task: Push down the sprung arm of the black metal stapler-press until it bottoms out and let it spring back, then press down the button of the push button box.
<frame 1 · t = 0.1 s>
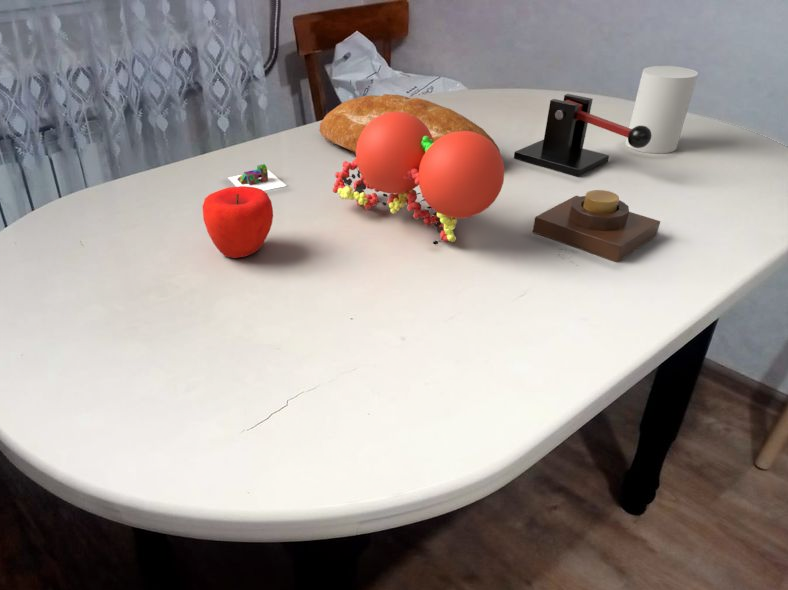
bell button: (600, 202, 84), point 4 cm above the table, slide at 0.1 cm
molecule: (408, 226, 90), on the table
cup: (650, 146, 113), on the table
apple: (242, 253, 85), on the table
white tray with figurine: (256, 182, 105), on the table
push button box: (593, 234, 87), on the table
bread: (403, 151, 115), on the table
stapler: (560, 160, 109), on the table
stapler arm: (603, 123, 101), point 7 cm above the table, hinge at -7.0°
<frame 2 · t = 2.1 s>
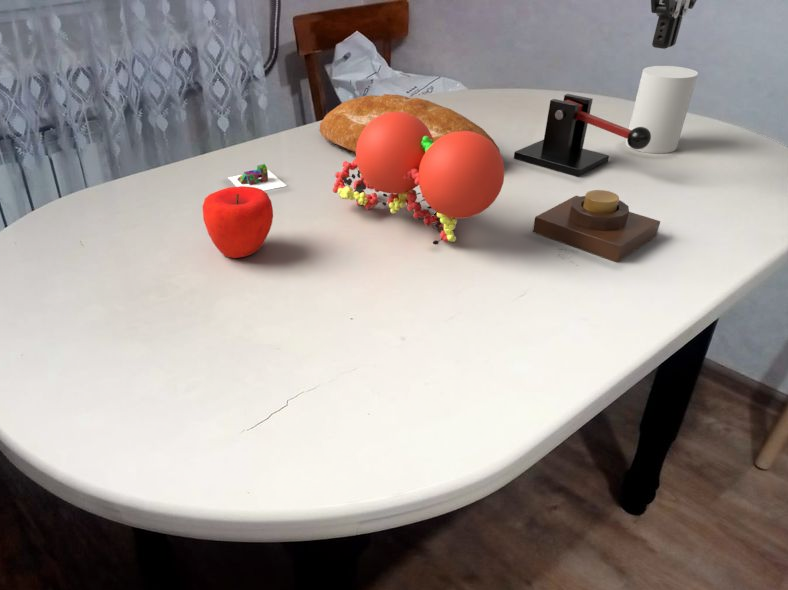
hand: (663, 46, 90), 19 cm above the table, tool pointing down, fingers closed
stapler arm: (603, 124, 101), point 7 cm above the table, hinge at -7.9°
everything else where it was.
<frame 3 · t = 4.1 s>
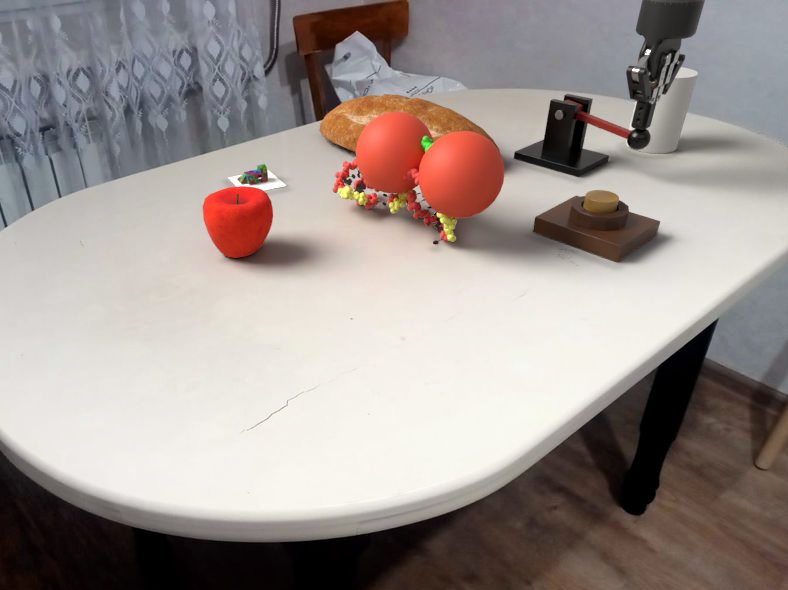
hand: (640, 127, 97), 8 cm above the table, tool pointing down, fingers closed
stapler arm: (603, 124, 101), point 7 cm above the table, hinge at -8.3°, touching gripper
everything else where it was.
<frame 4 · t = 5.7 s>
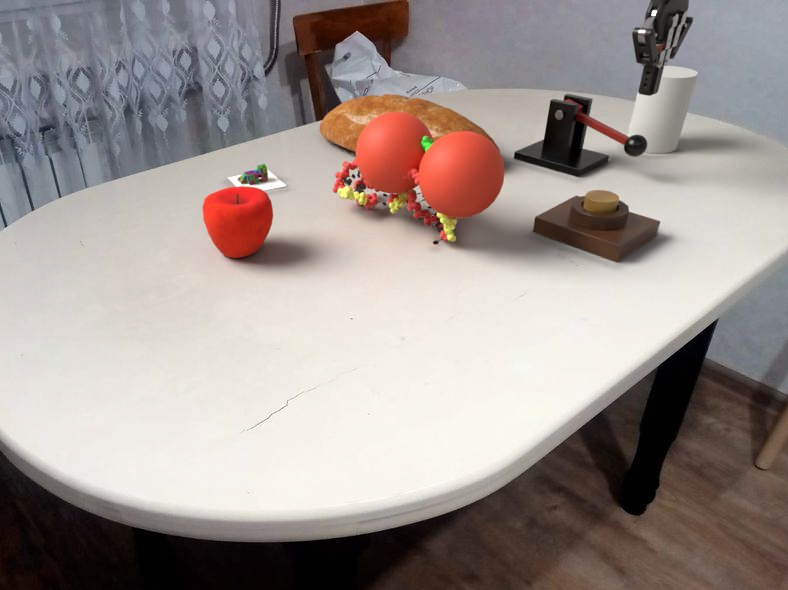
hand: (647, 93, 94), 13 cm above the table, tool pointing down, fingers closed
stapler arm: (602, 128, 101), point 7 cm above the table, hinge at -13.7°
everything else where it was.
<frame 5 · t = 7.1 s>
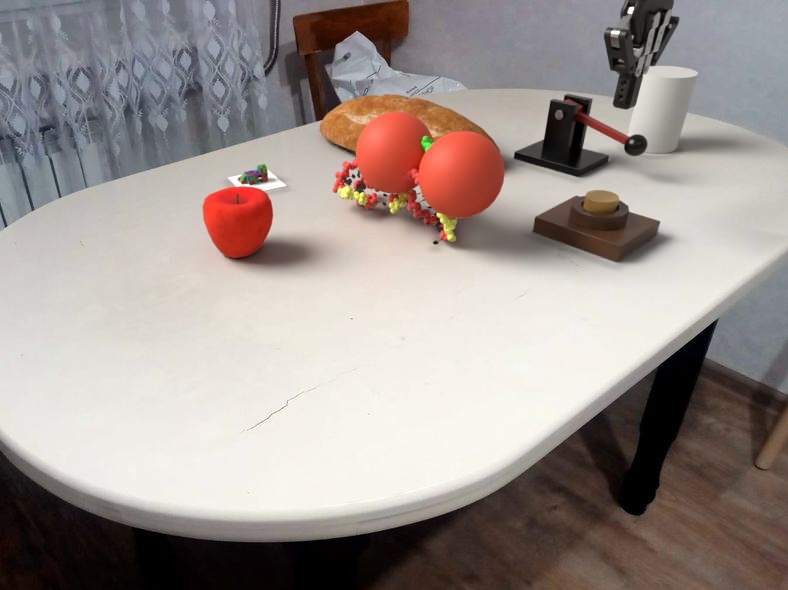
hand: (623, 107, 79), 16 cm above the table, tool pointing down, fingers closed
nothing on the table moved.
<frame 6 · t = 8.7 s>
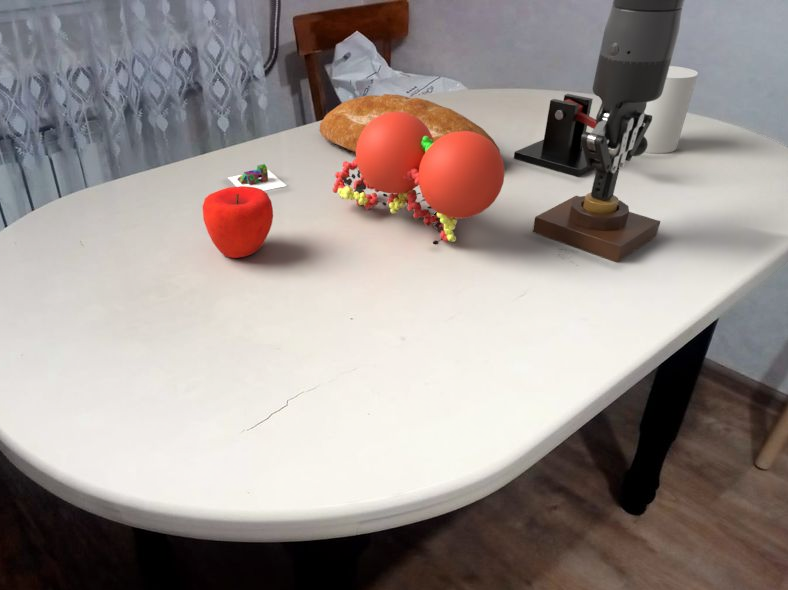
hand: (601, 197, 84), 5 cm above the table, tool pointing down, fingers closed
bell button: (600, 204, 84), point 4 cm above the table, slide at -0.2 cm, touching gripper
everything else where it was.
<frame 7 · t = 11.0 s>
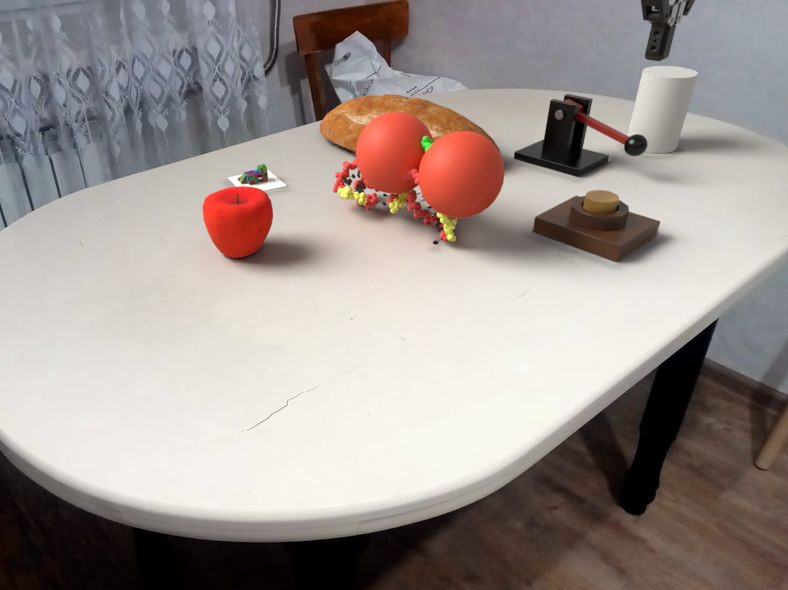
hand: (655, 59, 78), 21 cm above the table, tool pointing down, fingers closed
bell button: (600, 202, 84), point 4 cm above the table, slide at 0.1 cm
everything else where it was.
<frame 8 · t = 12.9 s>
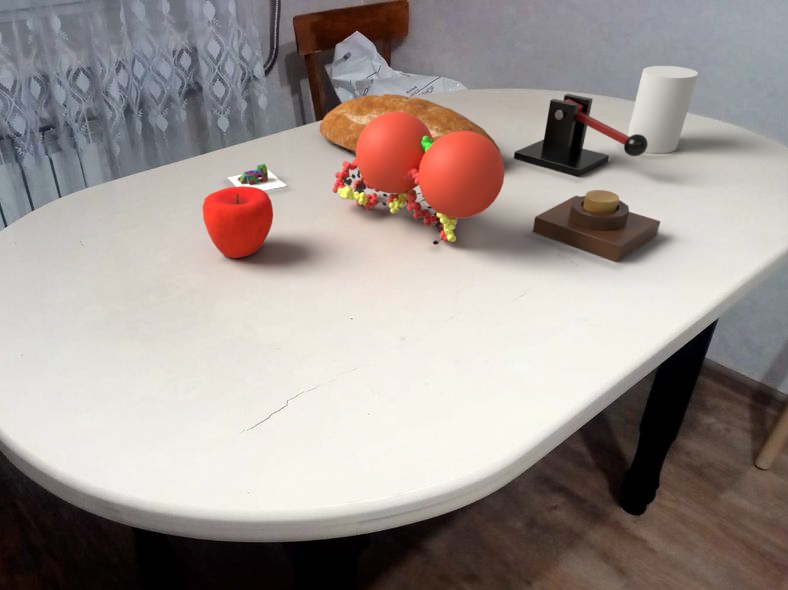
nothing on the table moved.
at the end: stapler arm reached -20° during the clip, -13° at the end; bell button pushed in 1.1 cm at the most during the clip, back to where it started at the end; bell button slide at 0.1 cm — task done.
